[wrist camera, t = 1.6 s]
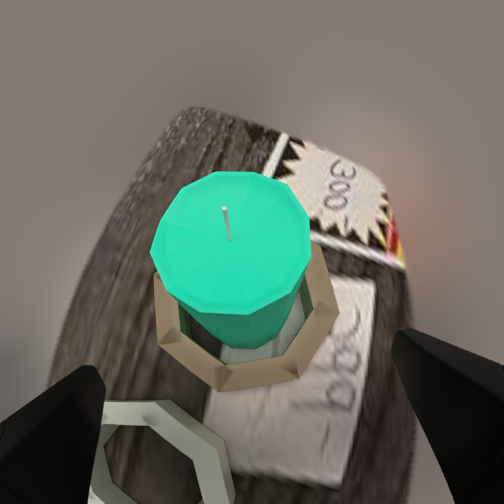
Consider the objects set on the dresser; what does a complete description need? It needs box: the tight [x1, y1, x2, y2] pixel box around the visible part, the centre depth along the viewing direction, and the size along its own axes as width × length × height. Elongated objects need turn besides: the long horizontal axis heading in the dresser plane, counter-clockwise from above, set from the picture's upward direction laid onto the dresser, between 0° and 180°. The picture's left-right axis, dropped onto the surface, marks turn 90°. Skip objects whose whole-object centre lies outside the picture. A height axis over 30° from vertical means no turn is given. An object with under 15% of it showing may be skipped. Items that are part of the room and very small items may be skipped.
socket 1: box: [88, 399, 236, 504], centre depth 13 cm, size 11×11×3 cm
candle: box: [150, 172, 311, 349], centre depth 14 cm, size 6×6×12 cm
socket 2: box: [154, 241, 340, 392], centre depth 18 cm, size 11×11×3 cm
